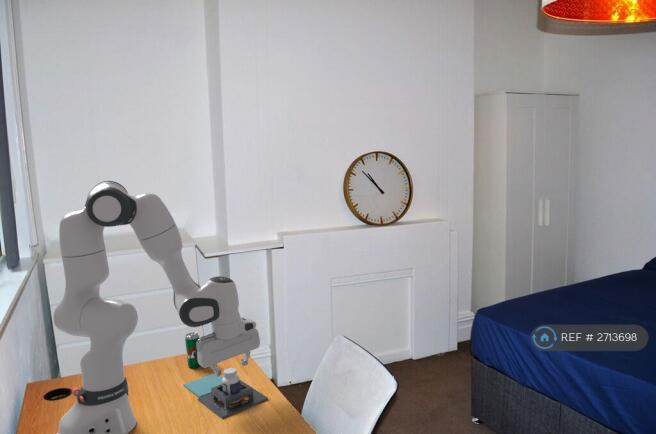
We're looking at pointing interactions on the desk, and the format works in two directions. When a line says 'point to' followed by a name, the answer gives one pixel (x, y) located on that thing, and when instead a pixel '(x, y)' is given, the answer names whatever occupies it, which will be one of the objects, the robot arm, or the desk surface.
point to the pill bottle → (231, 382)
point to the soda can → (192, 349)
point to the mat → (203, 385)
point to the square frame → (231, 400)
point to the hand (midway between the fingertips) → (231, 370)
